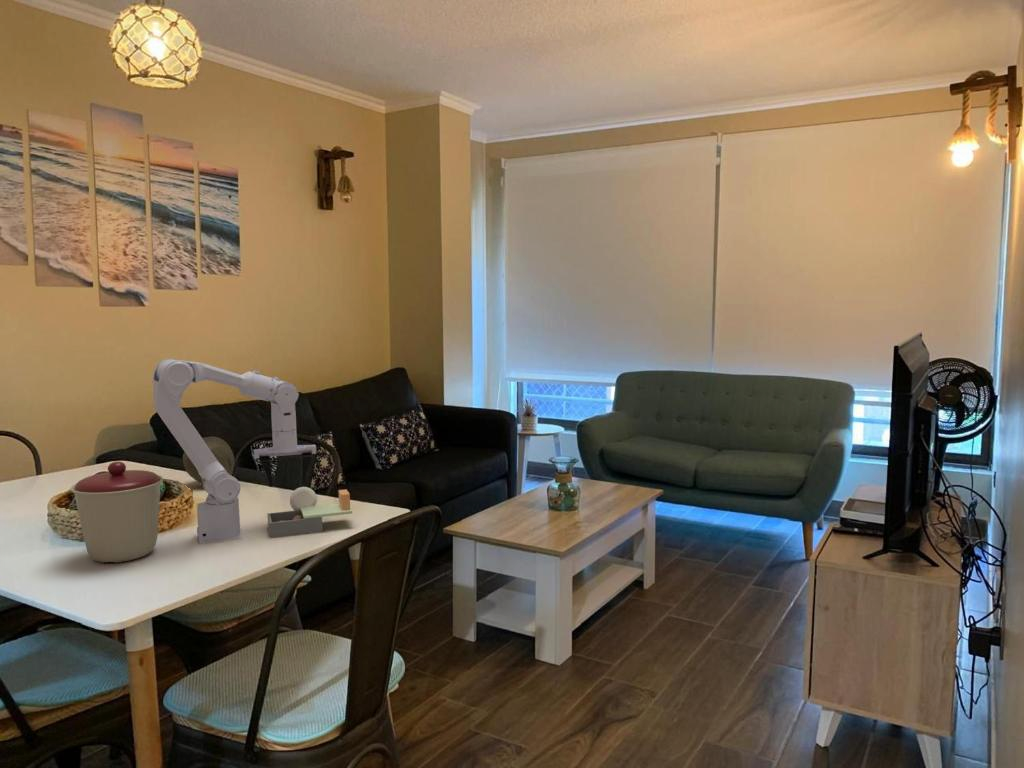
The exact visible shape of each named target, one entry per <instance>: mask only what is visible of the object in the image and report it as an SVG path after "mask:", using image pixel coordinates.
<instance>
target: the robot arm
mask: <svg viewBox="0 0 1024 768" xmlns="http://www.w3.org/2000/svg"><path fill="white" fill-rule="evenodd" d="M151 378H152V385H153V386H152V388H153V389H152V390H153V391H152V399H153V401H152V405H153V408H154V411H155V412H156V413H157V414H158V416H159V417H160V418H161V420H162V421H163V423H164V424H165V425H166V427H167V429H168V430H169V432H170V433H171V434H172V436H173V437H174V439H175V440H176V442H177V443H178V444H179V446H180V447H181V449H182V450H183V451H184V452H185V453H186V454H187V456H188V457H189V458H190V460H191V461H192V463H193V464H194V466H195V467H196V468H197V470H198V473H199V475H200V476H201V478H202V480H203V484H202V486H203V489H204V491H205V492H206V493H207V495H206V498H205V501H204V502H199V503H197V504H196V513H197V527H196V533H197V535H198V543H199V544H204V543H214V542H223V541H231V540H239V539H243V529H242V528H241V517H240V501H239V500H240V499H239V498H240V497H239V495H240V493H241V483H240V481H239V480H238V479H237V478H236V477H235V476H232V474H231V475H229V474H228V473H227V471H226V470H225V469H224V468H223V466H222V465H221V464H220V463H219V462H218V461H217V459H216V458H215V456H214V455H213V453H212V452H211V450H210V449H209V448H208V446H207V445H206V443H205V442H204V440H203V439H202V438H203V437H202V436H201V435H200V433H199V431H198V430H197V429H196V427H195V426H194V425H193V423H192V422H191V420H190V418H189V417H188V416H187V414H186V413H185V412H184V410H183V408H182V407H181V400H182V398H183V395H184V393H185V391H186V390H187V389H188V387H189V386H190V385H191V384H192V383H194V384H196V383H200V382H202V381H210V382H214V383H219V384H222V385H225V386H226V385H227V386H230V387H234V388H237V390H238V391H239V392H240V395H243V396H245V397H250V398H253V399H257V400H262V401H265V402H270V405H271V406H270V408H271V409H270V410H271V411H270V413H271V416H270V417H271V418H270V419H271V432H272V434H271V436H272V437H271V438H272V447H263V448H257V449H253V455H254V459H259V460H258V461H259V463H260V464H261V466H262V468H263V470H264V472H265V475H266V477H267V481H268V487H269V488H271V487H273V479H272V465H271V464H272V463H271V461H272V460H271V457H281V456H282V457H284V456H293V455H294V456H296V455H299V456H300V457H299V458H300V471H301V472H300V481H301V484H305V483H306V477H307V473H308V469H309V467H310V464H311V461H312V459H313V454H317V445H316V444H298V438H297V437H298V436H297V415H296V402H297V401H298V399H299V395H300V393H299V392H298V390H297V387H296V386H295V385H294V384H293V383H291V382H288V381H284V380H281V379H280V378H279V377H277V376H273V377H270V376H266V375H262V374H261V372H260V371H258V370H253V371H246V372H244V373H243V374H238V373H235V372H233V371H229V370H227V369H223V368H219V367H216V366H213V365H211V364H207V363H203V362H197V361H190V360H182V359H181V360H179V359H176V358H170V357H169V358H164V359H163V360H160V362H158V363H157V365H156V367H155V369H154V372H153V374H152V377H151Z"/></svg>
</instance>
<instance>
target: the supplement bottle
mask: <svg viewBox="0 0 1024 768" xmlns="http://www.w3.org/2000/svg"><path fill="white" fill-rule="evenodd" d="M317 500H318V498H317V494H316V492H315V491H314V490H313V489H312V488H310V487H307V486H299V487H298V488H295V489H294V490H293V491H292V492H291V495H290V497H289V506H290V507H291V508H292V511H295V510H300V508H301V507H310V506H317V502H318V501H317Z"/></svg>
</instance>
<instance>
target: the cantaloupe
mask: <svg viewBox="0 0 1024 768" xmlns="http://www.w3.org/2000/svg"><path fill="white" fill-rule="evenodd" d="M202 439H203V440H204V442H205V443H206V445H207V446H208V448H209V449H210V450H211V452H212V453H213V455H214V456H215V458H216V459H217V461H218V462H219V463H220V464H221V465H222V466H223V468H224V469H225V470H226V471H227V473H228V474H229V475H231V476H232V475H233V471H234V467H235V456H234V453H233V451H232V449H231V447H230V445H229V444H228V443H227V442H226V441H225V440H224V439H222V438H220V437H217V436H207V437H202ZM182 463H183V464H182V465H183V467H184V470H185V472H186V473H187V475H189V476H190V477H191V478H192V479H194V480H195V481H196V482H198V483H200V484H202V485H203V480H202V478H201V476H200V475H199V473H198V470H197V468H196V467H195V466H194V464H193V463H192V461H191V460H190V458H189V457H188V456H187V454H186V453H185V451H184V452H183V454H182Z"/></svg>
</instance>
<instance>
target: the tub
mask: <svg viewBox="0 0 1024 768" xmlns="http://www.w3.org/2000/svg"><path fill="white" fill-rule="evenodd" d="M297 515H301V516H303V515H302V513H301V510H295V511H294V510H287V511H277V512H269V513H267V516H266V517H267V530H268V533H269V534H268V535H269V539H274V538H283V537H290V536H302V535H307V534H308V535H309V534H317V533H318V534H319V533H323V531H324V530H323V517H316V518H307V519H298V520H293V518H294V517H295V516H297ZM281 520H284V521H281ZM279 521H280V522H279Z"/></svg>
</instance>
